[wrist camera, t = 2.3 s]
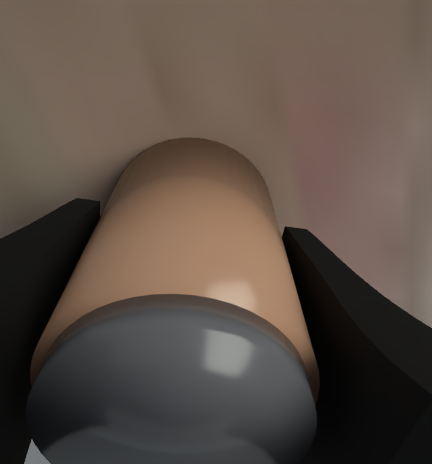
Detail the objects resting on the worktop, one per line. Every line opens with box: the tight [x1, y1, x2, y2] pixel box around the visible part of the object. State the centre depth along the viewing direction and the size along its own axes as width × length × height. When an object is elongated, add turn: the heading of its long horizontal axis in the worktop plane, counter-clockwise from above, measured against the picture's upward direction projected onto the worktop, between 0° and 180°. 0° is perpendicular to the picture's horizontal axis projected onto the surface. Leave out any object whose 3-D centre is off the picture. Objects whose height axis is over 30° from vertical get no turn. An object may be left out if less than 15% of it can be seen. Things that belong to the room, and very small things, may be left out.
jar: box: [26, 138, 320, 464], centre depth 10 cm, size 5×5×7 cm
